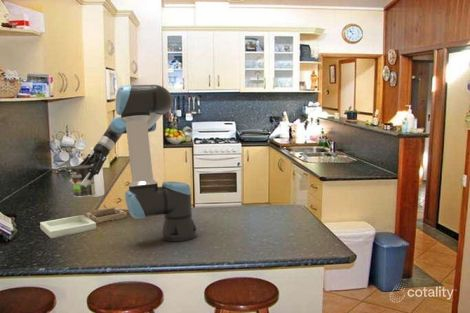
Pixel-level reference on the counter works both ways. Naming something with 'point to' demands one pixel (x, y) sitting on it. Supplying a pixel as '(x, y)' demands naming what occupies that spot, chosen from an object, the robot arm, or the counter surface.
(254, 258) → the counter surface
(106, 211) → the collar
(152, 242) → the counter surface
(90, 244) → the counter surface
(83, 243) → the counter surface
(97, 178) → the alcohol
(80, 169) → the coffee can
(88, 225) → the tray
